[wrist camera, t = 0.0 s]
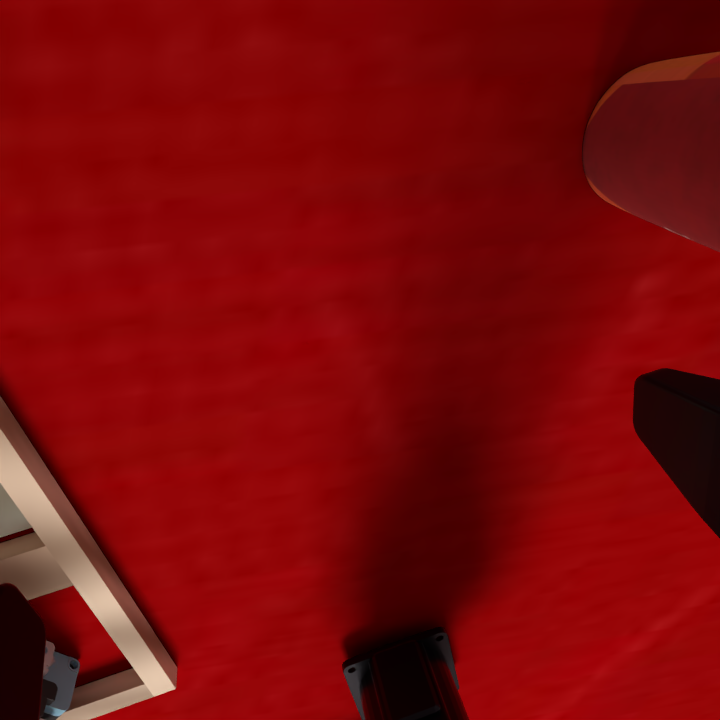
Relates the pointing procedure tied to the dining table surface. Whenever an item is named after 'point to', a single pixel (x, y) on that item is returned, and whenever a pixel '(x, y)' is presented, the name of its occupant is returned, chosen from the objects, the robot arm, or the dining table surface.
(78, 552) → the wooden double frame
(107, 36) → the dining table surface
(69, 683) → the push button
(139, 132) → the dining table surface
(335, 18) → the dining table surface
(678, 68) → the paper cup
